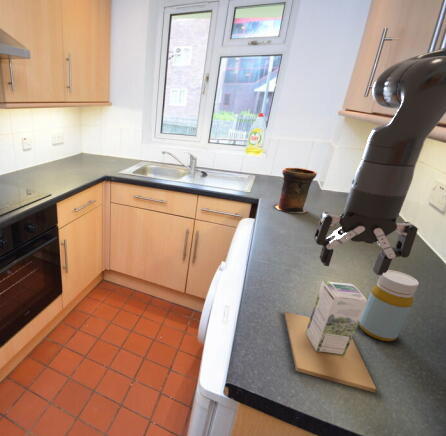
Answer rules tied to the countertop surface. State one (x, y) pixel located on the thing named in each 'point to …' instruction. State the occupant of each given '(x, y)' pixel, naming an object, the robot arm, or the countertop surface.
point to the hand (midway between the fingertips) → (350, 268)
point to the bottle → (388, 305)
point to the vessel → (295, 189)
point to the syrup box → (335, 317)
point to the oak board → (326, 358)
